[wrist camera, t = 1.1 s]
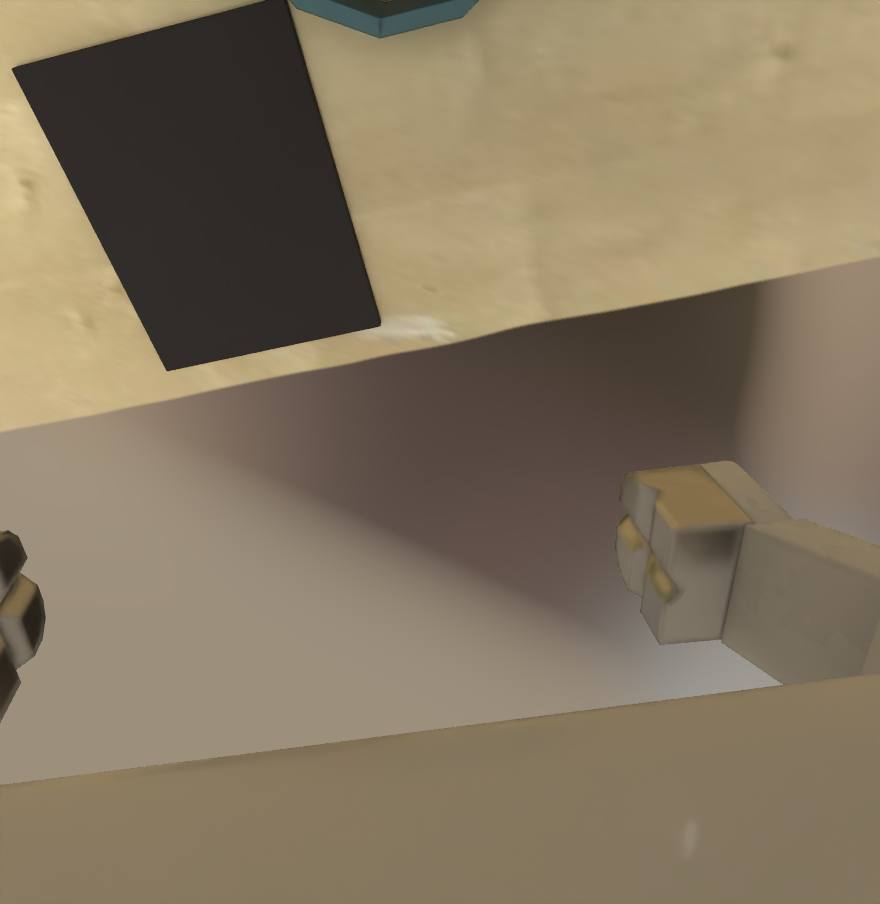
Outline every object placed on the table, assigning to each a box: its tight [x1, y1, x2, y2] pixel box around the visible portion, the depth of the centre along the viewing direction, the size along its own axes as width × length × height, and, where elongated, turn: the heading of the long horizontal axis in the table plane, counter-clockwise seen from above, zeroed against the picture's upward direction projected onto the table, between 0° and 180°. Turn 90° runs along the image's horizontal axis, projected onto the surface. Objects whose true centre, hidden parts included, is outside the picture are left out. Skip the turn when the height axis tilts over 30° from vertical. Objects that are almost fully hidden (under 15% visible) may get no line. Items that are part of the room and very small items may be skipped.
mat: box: [12, 0, 381, 371], centre depth 45 cm, size 20×16×1 cm
